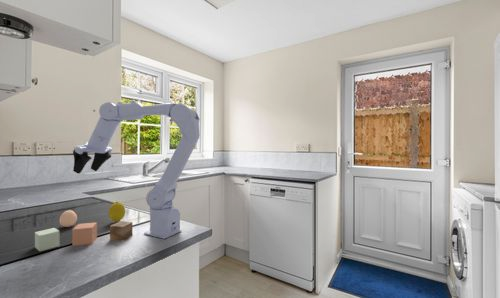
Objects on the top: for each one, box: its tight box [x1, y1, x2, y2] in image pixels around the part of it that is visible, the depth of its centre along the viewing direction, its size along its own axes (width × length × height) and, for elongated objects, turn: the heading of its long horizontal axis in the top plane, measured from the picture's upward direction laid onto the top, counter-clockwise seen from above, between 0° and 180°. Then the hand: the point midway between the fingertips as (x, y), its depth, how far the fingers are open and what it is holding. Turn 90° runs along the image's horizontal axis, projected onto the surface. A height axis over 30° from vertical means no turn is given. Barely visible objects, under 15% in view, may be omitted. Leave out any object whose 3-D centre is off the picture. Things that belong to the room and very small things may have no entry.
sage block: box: [34, 227, 61, 252], centre depth 69 cm, size 4×4×4 cm
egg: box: [59, 209, 78, 228], centre depth 85 cm, size 5×5×6 cm
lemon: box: [108, 201, 126, 223], centre depth 90 cm, size 6×6×8 cm
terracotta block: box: [71, 222, 98, 247], centre depth 72 cm, size 5×5×5 cm
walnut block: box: [109, 220, 133, 242], centre depth 76 cm, size 4×4×4 cm
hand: (85, 170), depth 82 cm, fingers open, 7 cm apart
